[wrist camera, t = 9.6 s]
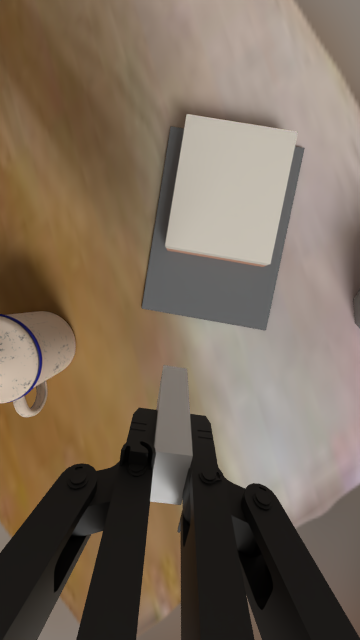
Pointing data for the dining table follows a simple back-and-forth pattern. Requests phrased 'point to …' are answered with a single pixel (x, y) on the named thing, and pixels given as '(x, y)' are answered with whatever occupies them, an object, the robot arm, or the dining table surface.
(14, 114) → the dining table surface
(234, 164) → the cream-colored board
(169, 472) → the robot arm
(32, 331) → the teacup with lid
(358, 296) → the toilet tissue
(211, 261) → the mat
